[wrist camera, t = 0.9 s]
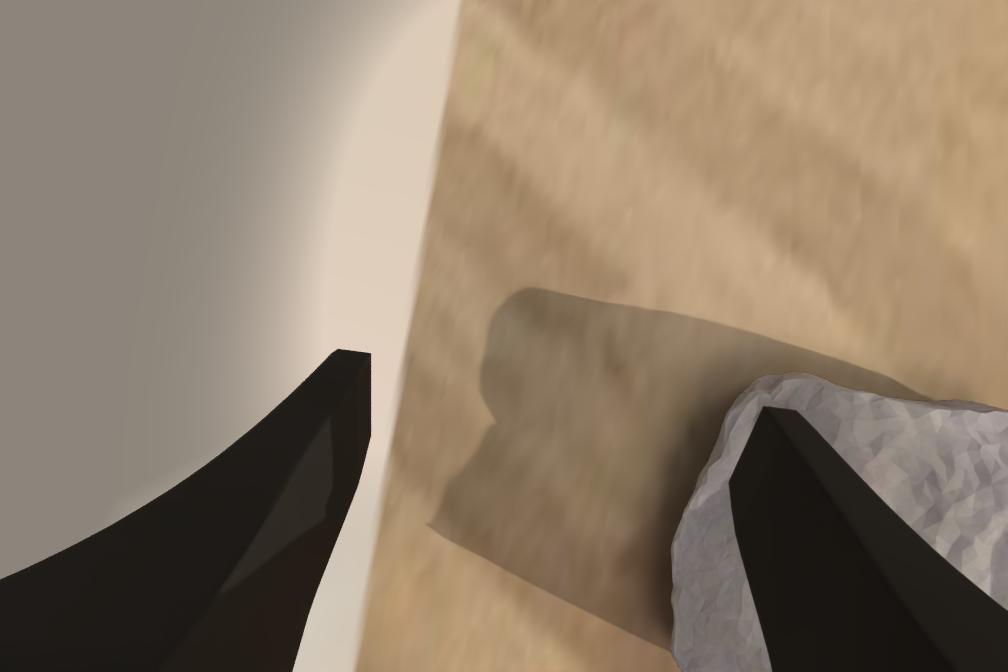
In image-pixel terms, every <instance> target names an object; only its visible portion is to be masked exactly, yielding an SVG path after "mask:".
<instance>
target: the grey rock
mask: <svg viewBox="0 0 1008 672" xmlns="http://www.w3.org/2000/svg"><path fill="white" fill-rule="evenodd" d="M763 406H770V407H777V408H785V409H792V410H797V411H798V412H799V413H800V414H801V415H802V416H803V417H804V418H805V419H806V420H807V421H808V422H809V423H810V424H811V425H812V426H813V427H814V428H815V429H816V430H817V431H818V432H819V433H820V434H821V436H822V437H823V438H824V439H825V440H826V441H827V442H828V443H829V444H830V445H831V446H832V447H833V448H834V449H835V450H836V451H837V453H838V454H839V455H840V456H841V457H842V458H843V459H844V460H845V461H846V462H847V463H848V464H849V465H850V466H851V467H852V469H853V470H854V471H855V472H856V473H857V474H858V475H859V476H860V477H861V478H862V479H863V480H864V481H865V482H866V483H867V484H868V485H869V486H870V487H871V488H872V489H873V490H874V491H875V493H876V494H877V495H878V496H879V497H880V498H881V499H882V500H883V501H884V502H885V503H886V504H887V505H888V506H889V507H890V508H891V509H892V510H893V511H894V512H895V513H896V514H897V515H898V516H899V517H901V518H902V519H903V520H904V521H905V522H906V523H907V524H908V525H909V526H910V527H911V528H912V529H913V530H914V531H915V532H916V533H917V534H918V535H920V536H921V537H922V538H923V539H924V540H925V541H926V542H927V543H928V544H929V545H930V546H931V547H932V548H933V549H934V550H936V551H937V552H938V553H939V554H940V555H941V556H942V557H943V558H945V559H946V560H947V561H948V562H949V563H950V564H951V565H953V566H954V567H955V568H956V569H957V570H958V571H960V572H961V573H962V574H963V575H965V576H966V577H967V578H968V579H969V580H971V581H972V582H973V583H974V584H975V585H977V586H978V587H979V588H980V589H981V590H983V591H984V592H985V593H986V594H987V595H989V596H990V597H991V598H992V599H993V600H995V601H996V602H997V603H999V604H1000V605H1001V606H1002V607H1004V608H1005V609H1006V610H1008V410H1004V409H1000V408H996V407H992V406H988V405H984V404H980V403H977V402H973V401H964V400H942V401H919V400H918V401H909V400H903V399H897V398H890V397H883V396H879V395H877V394H874V393H870V392H867V391H860V390H853V389H848V388H845V387H842V386H839V385H836V384H833V383H831V382H829V381H827V380H825V379H823V378H821V377H818V376H815V375H812V374H809V373H802V372H788V373H785V374H779V375H765V376H762V377H760V378H758V379H756V380H755V381H753V382H752V383H751V384H750V386H749V387H748V388H747V389H746V390H745V391H744V392H742V393H741V394H740V395H739V396H738V397H737V399H736V400H735V402H734V403H733V405H732V406H731V408H730V409H729V411H728V412H727V414H726V416H725V419H724V421H723V424H722V427H721V430H720V434H719V437H718V440H717V442H716V444H715V446H714V449H713V451H712V453H711V456H710V458H709V461H708V462H707V464H706V465H705V467H704V468H703V469H702V471H701V473H700V474H699V476H698V479H697V483H696V487H695V491H694V493H693V495H692V496H691V498H690V500H689V501H688V504H687V506H686V508H685V509H684V512H683V516H682V519H681V521H680V524H679V526H678V528H677V531H676V534H675V536H674V539H673V543H672V547H671V560H672V581H673V585H674V586H673V590H672V595H671V604H672V608H673V614H674V626H673V631H672V638H671V653H672V657H673V658H674V660H675V661H676V663H677V665H678V667H679V668H680V669H681V670H682V671H683V672H772V668H771V664H770V660H769V655H768V651H767V647H766V644H765V640H764V637H763V633H762V629H761V626H760V622H759V619H758V615H757V612H756V608H755V605H754V601H753V597H752V594H751V590H750V587H749V583H748V580H747V576H746V573H745V569H744V565H743V561H742V558H741V554H740V550H739V547H738V543H737V539H736V535H735V530H734V523H733V517H732V510H731V501H730V493H729V484H728V482H729V480H730V478H731V475H732V473H733V471H734V469H735V467H736V464H737V462H738V460H739V458H740V456H741V453H742V451H743V449H744V447H745V445H746V443H747V440H748V438H749V436H750V434H751V432H752V429H753V427H754V425H755V423H756V421H757V418H758V416H759V414H760V412H761V410H762V407H763Z"/></svg>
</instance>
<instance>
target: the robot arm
mask: <svg viewBox="0 0 1008 672" xmlns="http://www.w3.org/2000/svg"><path fill="white" fill-rule="evenodd" d="M370 438H371V353H365V352H357V351H350V350H342V349H337V350H336V351H334V352H333V353H331V354H330V355H329V356H328V358H327V359H326V360H325V361H324V362H323V363H322V364H321V365H320V366H319V367H318V368H317V369H316V370H315V371H314V372H313V373H312V374H311V375H310V376H309V377H308V378H307V379H306V380H305V381H304V382H303V383H301V385H299V386H298V387H297V388H296V389H295V390H294V391H293V392H292V393H291V394H290V395H289V396H288V397H287V398H286V399H285V400H283V401H282V402H281V403H280V404H279V405H278V406H277V407H276V408H275V409H274V410H272V411H271V412H270V413H269V414H268V415H267V416H266V417H265V418H264V419H262V420H261V421H260V422H259V423H258V424H257V425H256V426H254V427H253V428H252V429H251V430H249V431H248V432H247V433H246V434H244V435H243V436H242V437H241V438H239V439H238V440H237V441H236V442H235V443H233V444H232V445H231V446H230V447H228V448H227V449H226V450H225V451H223V452H222V453H221V454H220V455H218V456H217V457H216V458H214V459H213V460H212V461H210V462H209V463H208V464H206V465H205V466H203V467H202V468H201V469H199V470H198V471H196V472H195V473H194V474H192V475H191V476H190V477H188V478H186V479H185V480H183V481H182V482H180V483H179V484H178V485H176V486H175V487H173V488H172V489H170V490H169V491H167V492H165V493H164V494H162V495H161V496H159V497H157V498H156V499H154V500H153V501H151V502H149V503H148V504H146V505H145V506H143V507H141V508H140V509H138V510H136V511H134V512H133V513H131V514H129V515H128V516H126V517H124V518H123V519H121V520H119V521H118V522H116V523H114V524H113V525H111V526H109V527H107V528H105V529H103V530H102V531H99V532H98V533H96V534H94V535H92V536H90V537H88V538H86V539H84V540H82V541H81V542H79V543H77V544H75V545H73V546H71V547H69V548H67V549H65V550H63V551H61V552H59V553H57V554H55V555H53V556H50V557H48V558H46V559H45V560H42V561H40V562H38V563H36V564H34V565H32V566H30V567H28V568H26V569H23V570H21V571H19V572H17V573H14V574H12V575H10V576H7V577H5V578H3V579H0V672H292V671H293V667H294V664H295V660H296V656H297V653H298V649H299V646H300V643H301V639H302V636H303V632H304V628H305V625H306V622H307V618H308V615H309V612H310V609H311V606H312V603H313V600H314V597H315V594H316V592H317V589H318V586H319V584H320V581H321V579H322V576H323V574H324V571H325V569H326V566H327V564H328V561H329V559H330V556H331V553H332V551H333V548H334V546H335V543H336V541H337V538H338V536H339V533H340V531H341V528H342V526H343V523H344V520H345V518H346V515H347V512H348V510H349V508H350V505H351V502H352V500H353V497H354V494H355V492H356V489H357V487H358V484H359V480H360V476H361V473H362V469H363V465H364V462H365V458H366V454H367V450H368V446H369V442H370ZM728 484H729V493H730V501H731V510H732V517H733V523H734V530H735V535H736V539H737V543H738V547H739V550H740V554H741V558H742V561H743V565H744V569H745V573H746V576H747V580H748V583H749V587H750V590H751V594H752V597H753V601H754V605H755V608H756V612H757V615H758V619H759V622H760V626H761V629H762V633H763V637H764V640H765V644H766V647H767V651H768V655H769V660H770V664H771V668H772V672H1008V610H1006V609H1005V608H1004V607H1002V606H1001V605H1000V604H999V603H997V602H996V601H995V600H993V599H992V598H991V597H990V596H989V595H987V594H986V593H985V592H984V591H983V590H981V589H980V588H979V587H978V586H977V585H975V584H974V583H973V582H972V581H971V580H969V579H968V578H967V577H966V576H965V575H963V574H962V573H961V572H960V571H958V570H957V569H956V568H955V567H954V566H953V565H951V564H950V563H949V562H948V561H947V560H946V559H945V558H943V557H942V556H941V555H940V554H939V553H938V552H937V551H936V550H934V549H933V548H932V547H931V546H930V545H929V544H928V543H927V542H926V541H925V540H924V539H923V538H922V537H921V536H920V535H918V534H917V533H916V532H915V531H914V530H913V529H912V528H911V527H910V526H909V525H908V524H907V523H906V522H905V521H904V520H903V519H902V518H901V517H899V516H898V515H897V514H896V513H895V512H894V511H893V510H892V509H891V508H890V507H889V506H888V505H887V504H886V503H885V502H884V501H883V500H882V499H881V498H880V497H879V496H878V495H877V494H876V493H875V491H874V490H873V489H872V488H871V487H870V486H869V485H868V484H867V483H866V482H865V481H864V480H863V479H862V478H861V477H860V476H859V475H858V474H857V473H856V472H855V471H854V470H853V469H852V467H851V466H850V465H849V464H848V463H847V462H846V461H845V460H844V459H843V458H842V457H841V456H840V455H839V454H838V453H837V451H836V450H835V449H834V448H833V447H832V446H831V445H830V444H829V443H828V442H827V441H826V440H825V439H824V438H823V437H822V436H821V434H820V433H819V432H818V431H817V430H816V429H815V428H814V427H813V426H812V425H811V424H810V423H809V422H808V421H807V420H806V419H805V418H804V417H803V416H802V415H801V414H800V413H799V412H798V411H797V410H792V409H785V408H777V407H770V406H763V407H762V410H761V412H760V414H759V416H758V418H757V421H756V423H755V425H754V427H753V429H752V432H751V434H750V436H749V438H748V440H747V443H746V445H745V447H744V449H743V451H742V453H741V456H740V458H739V460H738V462H737V464H736V467H735V469H734V471H733V473H732V475H731V478H730V480H729V482H728Z"/></svg>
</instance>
